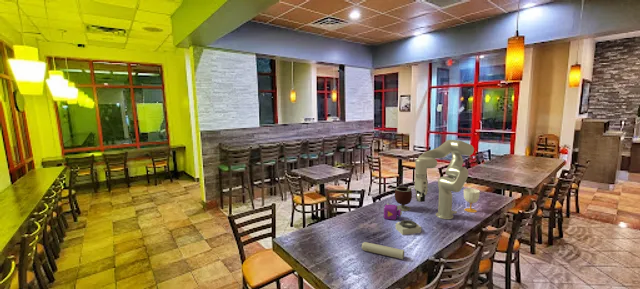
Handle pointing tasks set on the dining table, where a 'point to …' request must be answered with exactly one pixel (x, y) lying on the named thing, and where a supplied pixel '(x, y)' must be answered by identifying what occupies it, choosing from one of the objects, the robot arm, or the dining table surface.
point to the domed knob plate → (408, 227)
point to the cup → (471, 198)
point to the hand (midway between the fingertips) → (420, 199)
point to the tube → (383, 250)
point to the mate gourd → (403, 197)
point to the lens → (419, 196)
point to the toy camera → (391, 212)
